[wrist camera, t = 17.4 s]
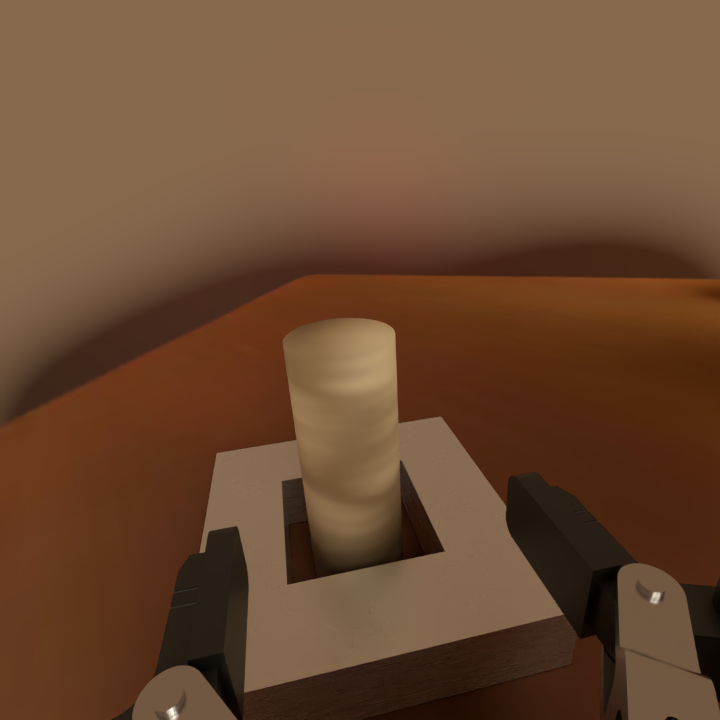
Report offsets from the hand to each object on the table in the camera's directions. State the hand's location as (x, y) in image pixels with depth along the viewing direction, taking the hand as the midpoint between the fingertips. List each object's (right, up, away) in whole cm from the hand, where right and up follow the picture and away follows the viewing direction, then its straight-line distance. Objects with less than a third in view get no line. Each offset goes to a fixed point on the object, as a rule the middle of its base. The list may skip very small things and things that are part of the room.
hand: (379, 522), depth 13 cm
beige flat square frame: (-1, -5, +9) cm, 11 cm away
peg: (-1, -5, +9) cm, 11 cm away
